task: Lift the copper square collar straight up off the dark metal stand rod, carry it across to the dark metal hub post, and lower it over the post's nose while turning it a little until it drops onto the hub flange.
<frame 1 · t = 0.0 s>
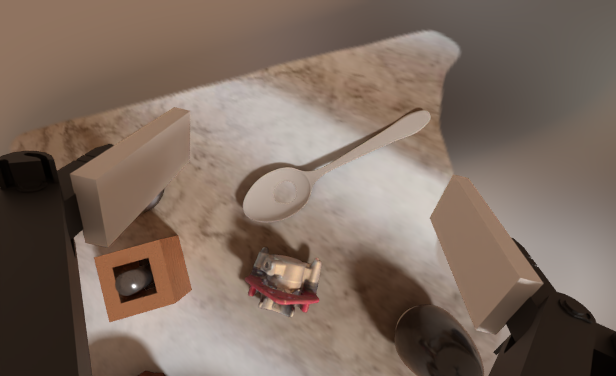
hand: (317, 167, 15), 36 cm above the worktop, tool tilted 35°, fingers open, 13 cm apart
stand rod: (157, 270, 49), on the worktop
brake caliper: (284, 278, 50), on the worktop
collar: (157, 270, 49), on the worktop
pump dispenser: (417, 329, 51), on the worktop
spoon: (338, 163, 52), on the worktop
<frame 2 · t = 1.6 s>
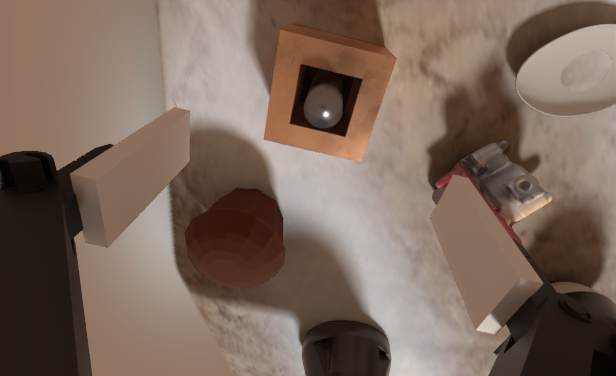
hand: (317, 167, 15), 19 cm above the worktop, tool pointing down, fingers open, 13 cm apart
stand rod: (327, 83, 31), on the worktop
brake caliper: (475, 180, 36), on the worktop
collar: (327, 83, 31), on the worktop
muffin: (249, 214, 41), on the worktop
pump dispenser: (551, 294, 44), on the worktop
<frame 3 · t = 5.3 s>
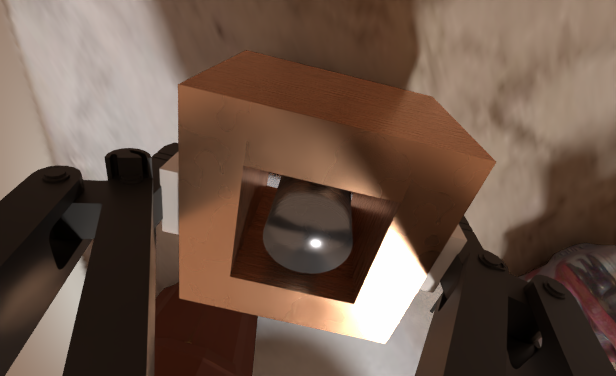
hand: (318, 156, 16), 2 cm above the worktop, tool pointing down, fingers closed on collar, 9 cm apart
stand rod: (322, 137, 18), on the worktop
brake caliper: (574, 280, 22), on the worktop
collar: (318, 158, 17), point 2 cm above the worktop, touching gripper
muffin: (209, 309, 28), on the worktop
when the fingers open (2 cm above the worktop, at t = 11.7 s): collar stays where it is, resting on hub.
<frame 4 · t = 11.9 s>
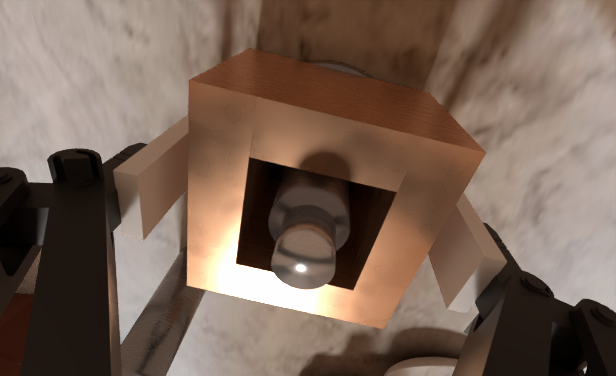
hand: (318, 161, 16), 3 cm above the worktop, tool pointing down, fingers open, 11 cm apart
stand rod: (198, 260, 24), on the worktop
collar: (319, 152, 17), point 1 cm above the worktop, touching hub
muffin: (52, 320, 31), on the worktop
hub: (321, 142, 18), on the worktop
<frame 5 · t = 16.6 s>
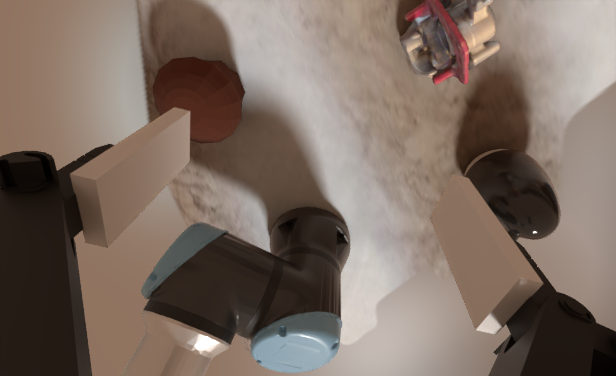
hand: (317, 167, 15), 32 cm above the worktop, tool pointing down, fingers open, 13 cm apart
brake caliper: (439, 33, 40), on the worktop
muffin: (215, 90, 46), on the worktop
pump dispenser: (488, 169, 49), on the worktop
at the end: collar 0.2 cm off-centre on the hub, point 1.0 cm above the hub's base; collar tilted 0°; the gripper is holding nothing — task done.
